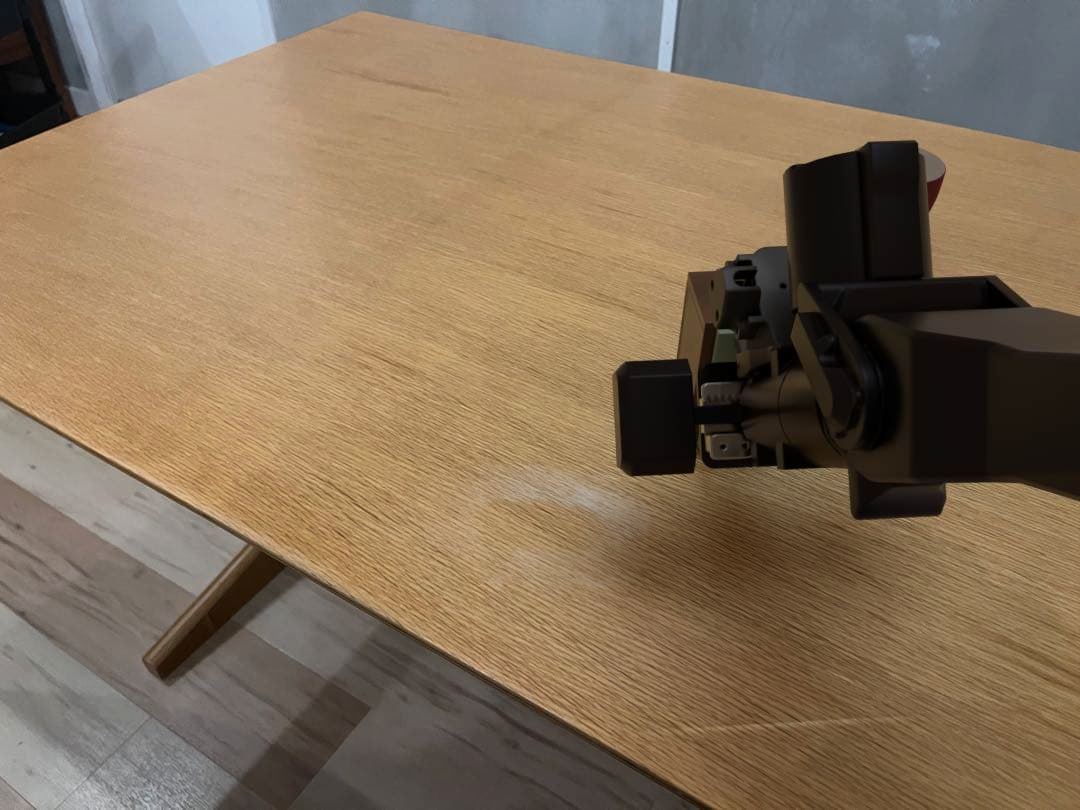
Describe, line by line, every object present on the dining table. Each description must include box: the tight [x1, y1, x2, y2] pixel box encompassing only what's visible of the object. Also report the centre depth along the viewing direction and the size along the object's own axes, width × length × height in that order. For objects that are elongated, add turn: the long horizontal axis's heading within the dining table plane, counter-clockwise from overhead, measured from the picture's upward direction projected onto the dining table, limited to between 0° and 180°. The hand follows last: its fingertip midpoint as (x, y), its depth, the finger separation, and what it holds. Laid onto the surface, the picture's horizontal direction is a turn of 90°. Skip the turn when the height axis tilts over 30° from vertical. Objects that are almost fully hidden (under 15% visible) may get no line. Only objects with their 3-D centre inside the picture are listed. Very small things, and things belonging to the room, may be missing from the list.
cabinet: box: [675, 270, 717, 449], centre depth 59 cm, size 6×14×12 cm, turn 93°
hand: (742, 416), depth 53 cm, fingers closed
